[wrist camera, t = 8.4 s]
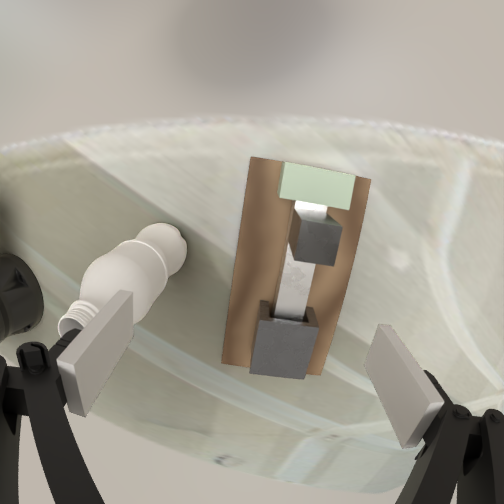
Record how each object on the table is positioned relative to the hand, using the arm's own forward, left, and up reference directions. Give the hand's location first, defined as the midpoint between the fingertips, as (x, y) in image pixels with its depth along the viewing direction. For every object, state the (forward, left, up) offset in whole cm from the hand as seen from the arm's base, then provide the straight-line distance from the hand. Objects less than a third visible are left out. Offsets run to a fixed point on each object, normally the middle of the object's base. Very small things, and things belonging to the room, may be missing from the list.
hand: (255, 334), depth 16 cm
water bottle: (-13, -5, -28) cm, 31 cm away
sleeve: (+5, -14, -28) cm, 32 cm away
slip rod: (+5, -2, -27) cm, 27 cm away
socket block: (+5, +7, -28) cm, 29 cm away
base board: (+5, -7, -28) cm, 29 cm away
